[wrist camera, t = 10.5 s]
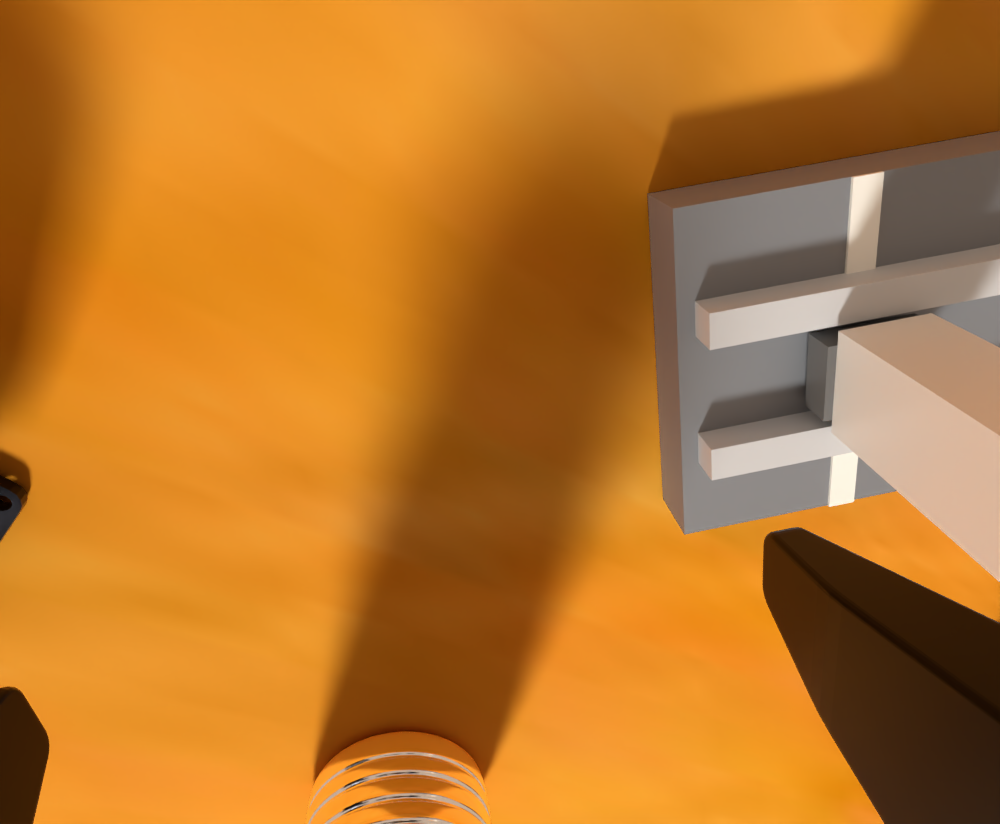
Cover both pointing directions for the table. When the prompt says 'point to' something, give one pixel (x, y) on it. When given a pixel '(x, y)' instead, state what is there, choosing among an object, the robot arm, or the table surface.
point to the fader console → (803, 311)
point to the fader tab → (919, 417)
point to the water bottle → (400, 783)
